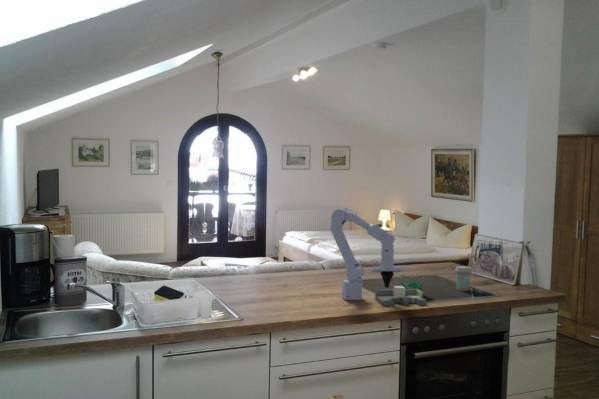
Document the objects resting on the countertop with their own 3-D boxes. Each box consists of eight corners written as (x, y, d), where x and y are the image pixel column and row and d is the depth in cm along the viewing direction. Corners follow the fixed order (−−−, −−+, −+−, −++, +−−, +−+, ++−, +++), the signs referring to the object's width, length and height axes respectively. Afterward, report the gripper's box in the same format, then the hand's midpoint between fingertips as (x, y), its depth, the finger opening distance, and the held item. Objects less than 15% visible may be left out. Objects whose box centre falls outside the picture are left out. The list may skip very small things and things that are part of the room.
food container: (403, 297, 275) (404, 277, 274) (399, 294, 281) (399, 274, 280) (427, 296, 277) (428, 276, 276) (422, 293, 283) (423, 274, 282)
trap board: (382, 305, 257) (382, 295, 257) (375, 299, 268) (375, 289, 268) (425, 304, 260) (426, 294, 260) (417, 299, 271) (417, 289, 271)
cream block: (395, 297, 263) (396, 288, 263) (392, 295, 268) (393, 286, 268) (405, 297, 264) (405, 288, 264) (402, 295, 268) (402, 285, 268)
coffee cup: (461, 292, 289) (462, 268, 288) (450, 288, 297) (451, 266, 296) (474, 290, 292) (475, 268, 291) (464, 287, 300) (465, 265, 299)
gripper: (374, 260, 259) (374, 289, 260) (404, 260, 261) (404, 288, 262) (370, 257, 266) (369, 286, 267) (400, 257, 268) (399, 285, 269)
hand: (386, 287), depth 265 cm, fingers closed
